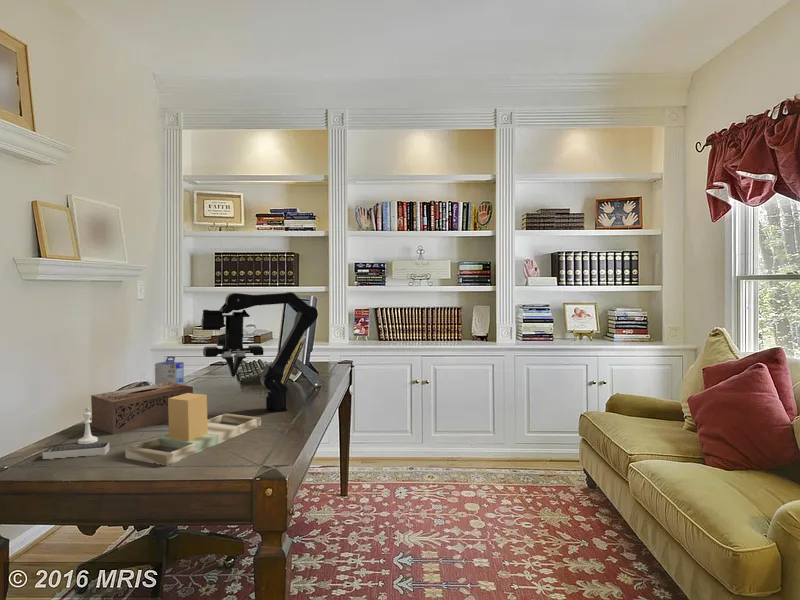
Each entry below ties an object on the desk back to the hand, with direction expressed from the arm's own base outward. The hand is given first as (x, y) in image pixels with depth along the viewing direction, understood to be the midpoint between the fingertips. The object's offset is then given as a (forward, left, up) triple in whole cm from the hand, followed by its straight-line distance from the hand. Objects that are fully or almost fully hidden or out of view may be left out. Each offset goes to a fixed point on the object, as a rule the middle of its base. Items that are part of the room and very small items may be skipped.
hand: (233, 376), depth 175 cm
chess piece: (+41, +13, -13) cm, 45 cm away
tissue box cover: (+27, -4, -13) cm, 31 cm away
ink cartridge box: (+21, -46, -13) cm, 52 cm away
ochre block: (+14, +28, -10) cm, 33 cm away
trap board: (+11, +25, -13) cm, 30 cm away
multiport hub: (+42, +25, -14) cm, 50 cm away
